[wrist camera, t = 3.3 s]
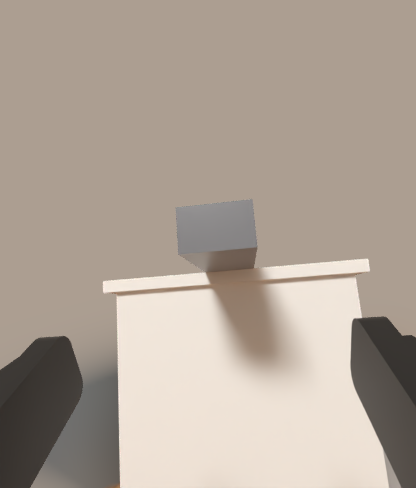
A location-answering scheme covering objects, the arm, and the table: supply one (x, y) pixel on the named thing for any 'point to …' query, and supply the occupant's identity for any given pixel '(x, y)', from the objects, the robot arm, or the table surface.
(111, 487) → the table surface
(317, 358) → the tall stand
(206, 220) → the bar
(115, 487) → the table surface
